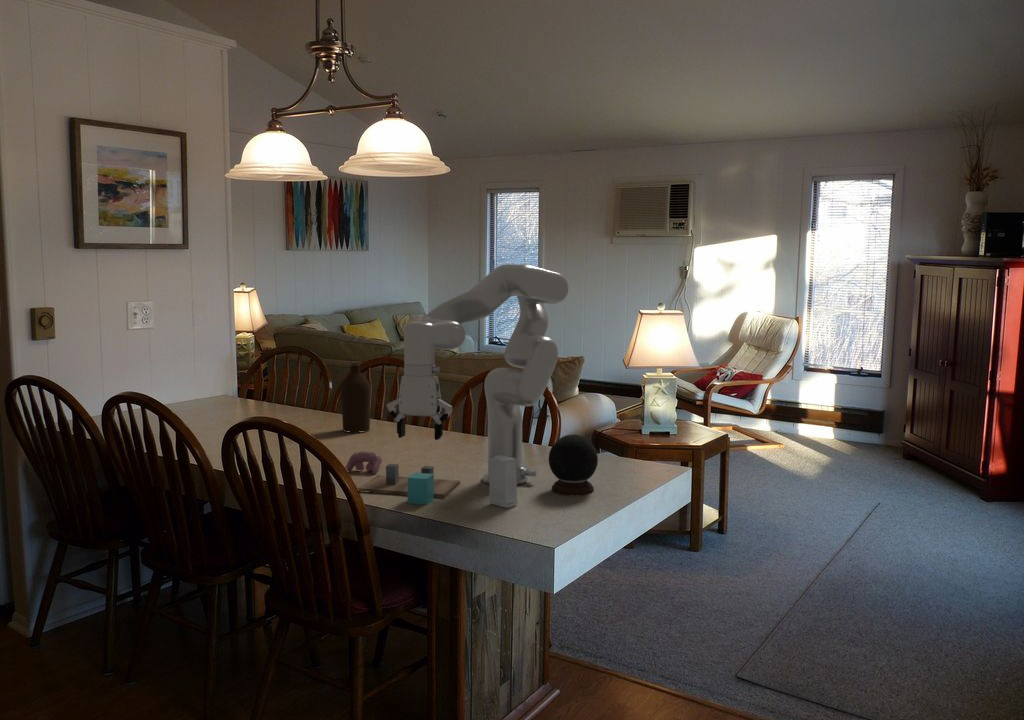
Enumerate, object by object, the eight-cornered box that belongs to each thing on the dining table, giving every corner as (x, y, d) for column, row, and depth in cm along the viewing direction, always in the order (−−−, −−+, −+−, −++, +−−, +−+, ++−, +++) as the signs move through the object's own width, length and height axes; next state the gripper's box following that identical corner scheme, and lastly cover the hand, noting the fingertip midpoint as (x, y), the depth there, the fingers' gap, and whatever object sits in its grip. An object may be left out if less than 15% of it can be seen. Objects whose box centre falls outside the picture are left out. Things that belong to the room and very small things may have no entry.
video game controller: (380, 477, 244) (384, 454, 246) (374, 474, 240) (379, 450, 242) (349, 475, 246) (354, 452, 249) (343, 471, 242) (347, 448, 244)
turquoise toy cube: (433, 498, 217) (433, 473, 216) (427, 504, 212) (427, 479, 211) (414, 497, 218) (414, 472, 217) (407, 503, 213) (407, 477, 212)
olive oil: (353, 434, 295) (352, 364, 292) (335, 430, 302) (333, 361, 299) (377, 430, 303) (376, 361, 300) (358, 426, 310) (357, 359, 307)
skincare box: (517, 505, 211) (518, 458, 210) (505, 509, 208) (505, 461, 207) (500, 500, 216) (500, 454, 214) (487, 504, 212) (488, 457, 211)
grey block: (398, 482, 229) (398, 464, 228) (395, 484, 226) (395, 466, 226) (389, 481, 229) (389, 463, 229) (386, 484, 227) (385, 466, 226)
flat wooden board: (459, 484, 231) (459, 462, 230) (444, 498, 217) (444, 475, 217) (378, 478, 236) (377, 457, 236) (358, 491, 223) (357, 469, 222)
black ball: (585, 499, 217) (586, 442, 215) (539, 492, 223) (540, 436, 222) (605, 487, 228) (606, 433, 227) (561, 481, 235) (561, 428, 233)
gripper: (456, 370, 213) (456, 436, 215) (392, 367, 217) (393, 433, 219) (447, 374, 205) (447, 442, 207) (381, 371, 209) (382, 438, 211)
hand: (419, 437), depth 213 cm, fingers open, 9 cm apart
